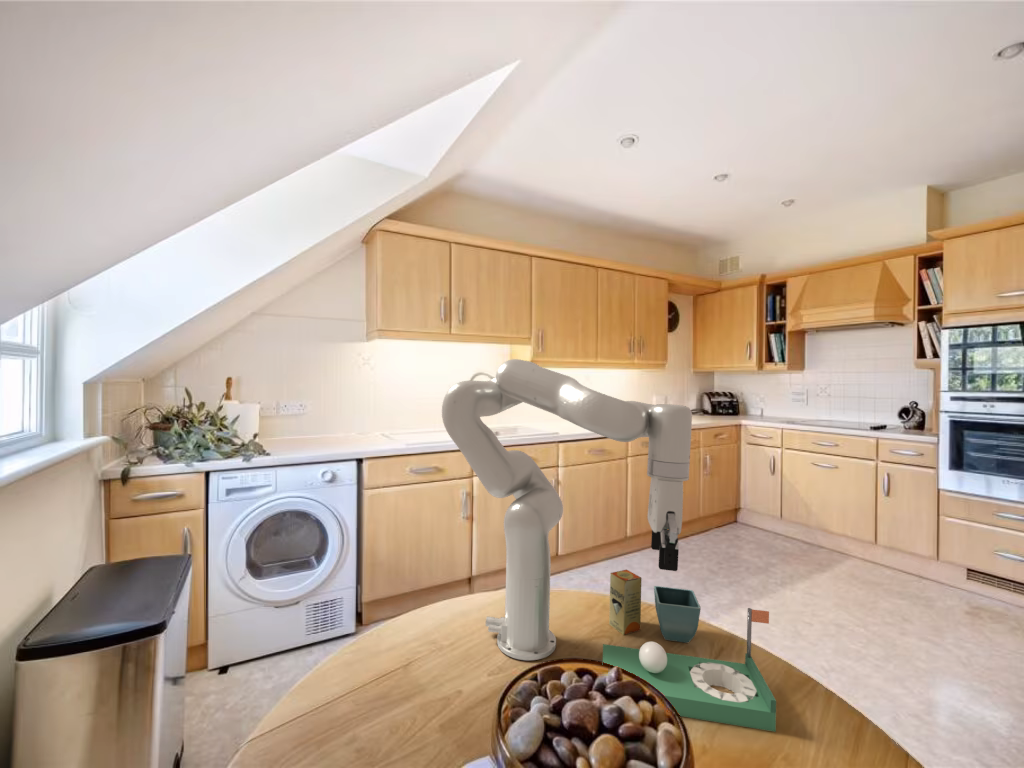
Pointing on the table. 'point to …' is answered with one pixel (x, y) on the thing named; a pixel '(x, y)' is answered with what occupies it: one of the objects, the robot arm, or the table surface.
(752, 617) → the flag
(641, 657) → the ball
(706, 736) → the table surface
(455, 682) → the table surface
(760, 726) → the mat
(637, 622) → the shoe polish box
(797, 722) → the table surface
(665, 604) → the flower pot
